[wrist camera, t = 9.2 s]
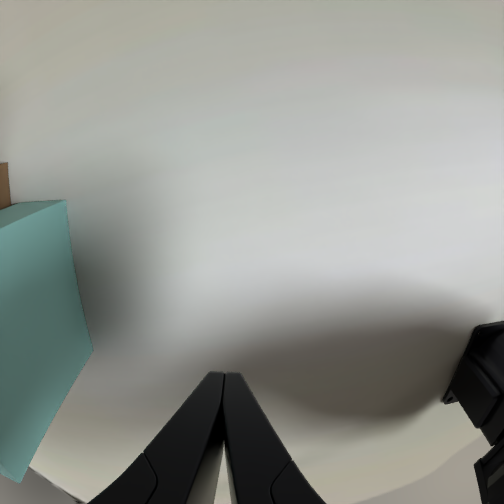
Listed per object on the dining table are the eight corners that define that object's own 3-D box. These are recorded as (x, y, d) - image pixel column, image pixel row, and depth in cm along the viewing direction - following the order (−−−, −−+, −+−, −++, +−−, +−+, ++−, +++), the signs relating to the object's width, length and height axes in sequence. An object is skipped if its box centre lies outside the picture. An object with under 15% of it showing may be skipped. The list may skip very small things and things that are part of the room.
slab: (65, 199, 12) (-96, 284, 3) (93, 350, 15) (20, 483, 6) (19, 202, 12) (-125, 274, 3) (50, 342, 15) (-30, 456, 6)
